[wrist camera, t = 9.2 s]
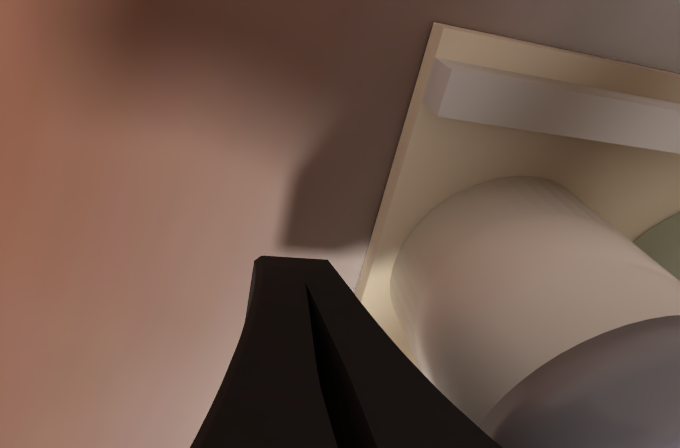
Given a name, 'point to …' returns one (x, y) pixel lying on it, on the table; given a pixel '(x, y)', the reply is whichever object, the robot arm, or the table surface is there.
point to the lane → (525, 141)
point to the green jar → (663, 244)
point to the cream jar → (541, 319)
